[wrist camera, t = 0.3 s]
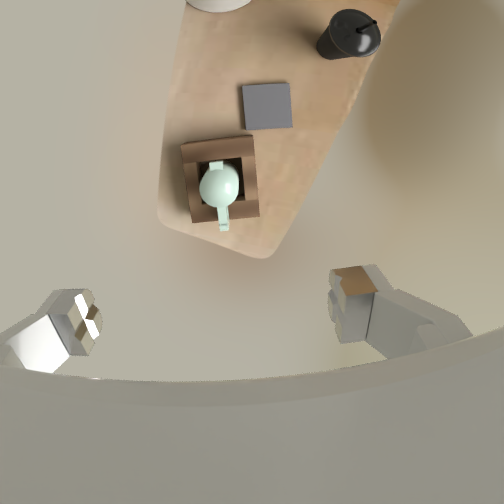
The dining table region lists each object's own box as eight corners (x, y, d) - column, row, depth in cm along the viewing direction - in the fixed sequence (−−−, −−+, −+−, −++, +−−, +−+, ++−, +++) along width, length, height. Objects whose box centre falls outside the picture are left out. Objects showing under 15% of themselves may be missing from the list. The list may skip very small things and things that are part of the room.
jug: (203, 155, 52) (195, 164, 44) (236, 151, 52) (235, 160, 44) (210, 214, 57) (205, 233, 49) (242, 211, 57) (242, 229, 49)
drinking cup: (302, 56, 44) (336, 31, 26) (316, 22, 41) (354, -15, 23) (341, 74, 45) (392, 61, 28) (354, 40, 42) (408, 16, 24)
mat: (242, 86, 46) (242, 85, 45) (288, 83, 46) (289, 83, 45) (246, 130, 50) (246, 130, 49) (291, 126, 50) (292, 127, 49)
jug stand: (184, 142, 51) (180, 145, 47) (252, 135, 50) (253, 137, 47) (195, 215, 57) (192, 223, 53) (258, 209, 57) (259, 216, 53)
